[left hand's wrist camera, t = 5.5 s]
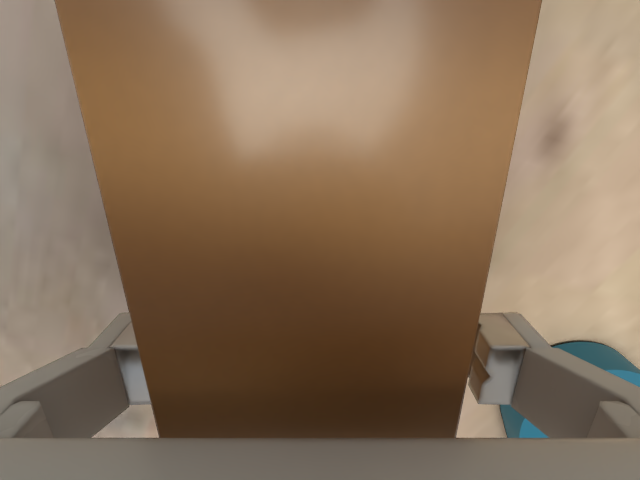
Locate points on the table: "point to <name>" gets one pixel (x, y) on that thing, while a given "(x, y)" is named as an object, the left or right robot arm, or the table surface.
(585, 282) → the table surface
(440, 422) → the box
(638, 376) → the camera mount
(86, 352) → the left robot arm
